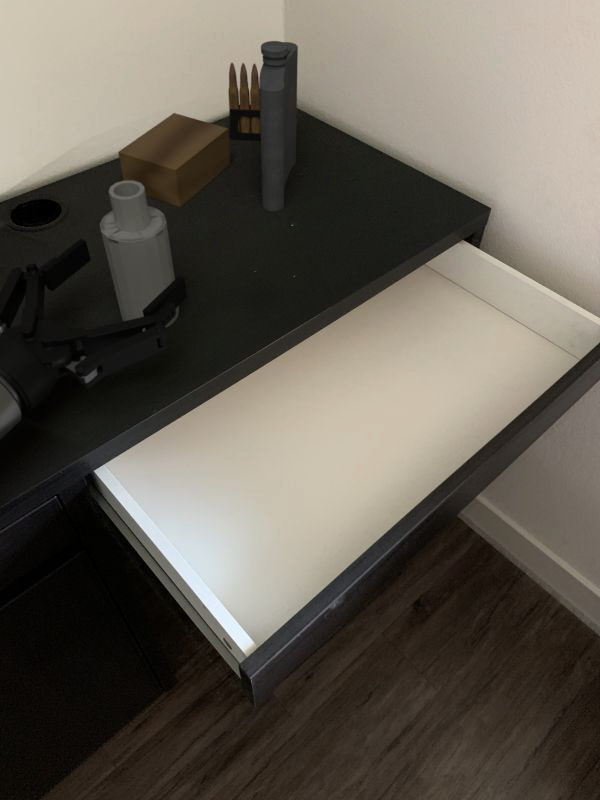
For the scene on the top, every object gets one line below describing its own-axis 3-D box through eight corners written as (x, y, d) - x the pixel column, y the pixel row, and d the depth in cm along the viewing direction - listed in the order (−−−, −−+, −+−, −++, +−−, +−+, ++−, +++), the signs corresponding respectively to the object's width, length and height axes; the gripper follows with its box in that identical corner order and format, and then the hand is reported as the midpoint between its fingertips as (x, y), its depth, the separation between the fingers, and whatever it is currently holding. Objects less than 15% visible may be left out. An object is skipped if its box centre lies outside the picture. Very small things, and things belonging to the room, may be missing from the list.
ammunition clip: (229, 139, 111) (225, 64, 102) (230, 133, 112) (226, 59, 103) (293, 142, 111) (294, 67, 101) (293, 136, 112) (295, 62, 103)
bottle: (110, 320, 81) (77, 196, 68) (144, 288, 85) (120, 165, 72) (157, 339, 79) (133, 215, 66) (190, 305, 83) (173, 182, 70)
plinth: (125, 189, 100) (118, 151, 95) (178, 148, 108) (173, 112, 104) (180, 207, 97) (175, 169, 93) (230, 164, 105) (228, 128, 101)
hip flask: (282, 212, 97) (282, 71, 82) (254, 210, 97) (250, 69, 82) (297, 157, 107) (299, 23, 92) (272, 155, 107) (270, 21, 92)
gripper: (-84, 370, 69) (56, 261, 81) (107, 464, 61) (229, 329, 74) (-117, 315, 63) (39, 207, 76) (90, 412, 56) (224, 275, 68)
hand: (133, 267), depth 75 cm, fingers open, 13 cm apart
